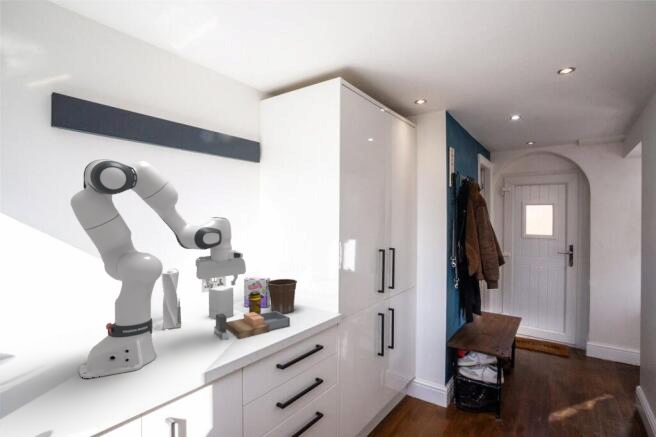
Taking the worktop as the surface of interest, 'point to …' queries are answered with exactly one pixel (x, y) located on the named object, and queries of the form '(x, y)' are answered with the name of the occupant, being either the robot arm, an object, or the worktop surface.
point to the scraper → (221, 327)
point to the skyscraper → (171, 300)
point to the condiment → (255, 302)
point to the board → (246, 328)
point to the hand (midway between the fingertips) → (222, 286)
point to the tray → (275, 320)
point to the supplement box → (220, 301)
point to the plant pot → (282, 295)
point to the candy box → (257, 290)
